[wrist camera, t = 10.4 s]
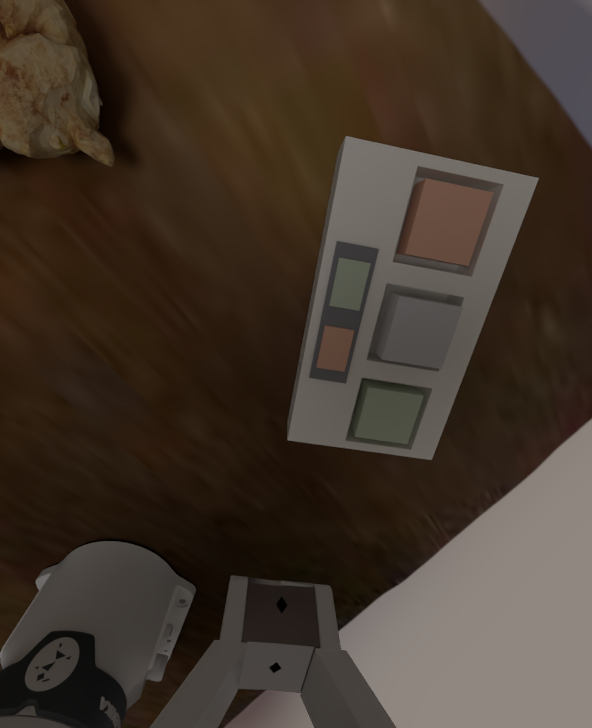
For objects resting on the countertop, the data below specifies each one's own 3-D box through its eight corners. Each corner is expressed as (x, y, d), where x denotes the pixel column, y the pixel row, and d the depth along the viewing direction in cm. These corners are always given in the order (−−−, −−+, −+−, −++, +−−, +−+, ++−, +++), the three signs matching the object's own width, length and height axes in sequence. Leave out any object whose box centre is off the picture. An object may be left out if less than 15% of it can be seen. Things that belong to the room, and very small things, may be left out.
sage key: (400, 432, 31) (407, 444, 29) (350, 425, 30) (354, 436, 28) (415, 386, 29) (423, 395, 27) (363, 378, 29) (368, 387, 27)
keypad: (417, 439, 33) (433, 462, 29) (287, 420, 32) (287, 442, 28) (506, 188, 25) (543, 176, 22) (338, 152, 24) (346, 133, 20)
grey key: (430, 360, 27) (441, 369, 25) (375, 351, 27) (381, 359, 25) (450, 303, 25) (463, 307, 23) (390, 293, 25) (399, 296, 23)
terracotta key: (455, 265, 25) (468, 265, 24) (396, 253, 25) (405, 253, 23) (477, 197, 24) (493, 192, 22) (415, 184, 23) (426, 178, 22)
